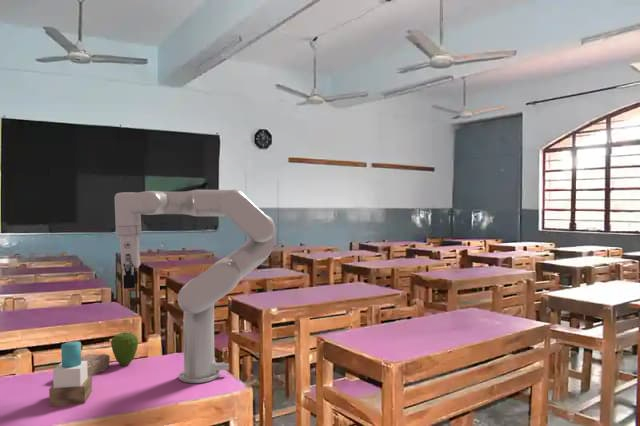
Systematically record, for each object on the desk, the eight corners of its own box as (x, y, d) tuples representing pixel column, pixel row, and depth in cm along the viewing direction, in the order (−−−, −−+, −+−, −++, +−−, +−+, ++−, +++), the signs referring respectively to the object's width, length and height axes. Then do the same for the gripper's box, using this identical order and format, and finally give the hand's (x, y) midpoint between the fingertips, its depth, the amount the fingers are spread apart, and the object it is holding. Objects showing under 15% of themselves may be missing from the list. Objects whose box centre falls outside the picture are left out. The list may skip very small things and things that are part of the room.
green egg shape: (143, 361, 177) (142, 329, 177) (127, 369, 169) (126, 335, 169) (122, 359, 180) (122, 327, 179) (106, 367, 171) (105, 333, 171)
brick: (77, 385, 156) (77, 369, 156) (54, 383, 158) (54, 368, 158) (110, 368, 172) (110, 354, 172) (89, 366, 174) (89, 352, 174)
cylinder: (82, 361, 147) (82, 340, 147) (79, 366, 142) (78, 345, 142) (64, 362, 146) (63, 342, 146) (59, 368, 141) (59, 347, 141)
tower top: (87, 377, 148) (87, 360, 148) (80, 386, 141) (80, 368, 141) (61, 379, 147) (61, 362, 146) (53, 388, 140) (53, 370, 140)
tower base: (91, 392, 150) (91, 375, 150) (84, 404, 141) (84, 386, 141) (58, 395, 148) (58, 378, 148) (49, 407, 139) (49, 389, 139)
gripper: (139, 232, 151) (141, 289, 152) (143, 229, 168) (145, 280, 168) (112, 233, 149) (114, 291, 150) (119, 230, 166) (121, 282, 166)
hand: (131, 285), depth 159 cm, fingers open, 9 cm apart
